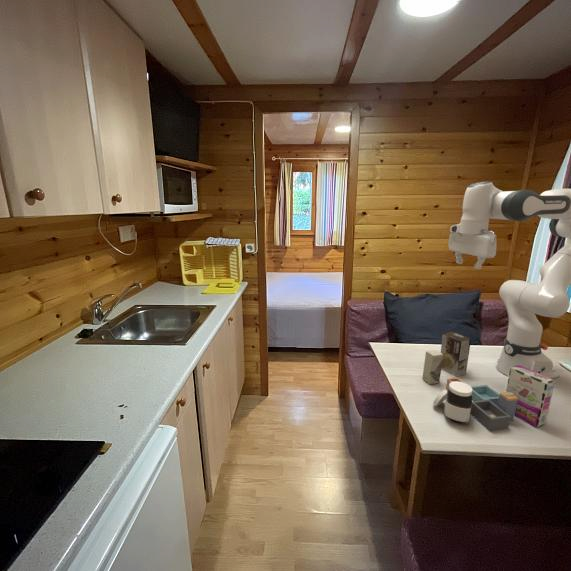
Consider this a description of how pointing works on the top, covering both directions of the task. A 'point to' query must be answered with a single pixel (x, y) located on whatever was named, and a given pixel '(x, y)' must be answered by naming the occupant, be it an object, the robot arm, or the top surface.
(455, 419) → the spread jar
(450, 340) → the coffee box
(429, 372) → the box
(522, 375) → the candy bar box
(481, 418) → the box
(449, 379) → the cup
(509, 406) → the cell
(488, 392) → the trough
